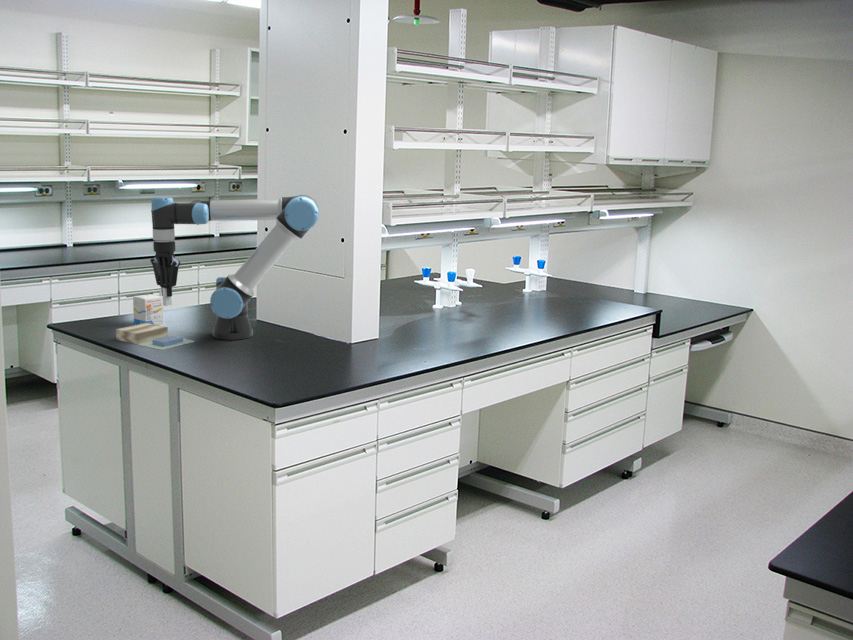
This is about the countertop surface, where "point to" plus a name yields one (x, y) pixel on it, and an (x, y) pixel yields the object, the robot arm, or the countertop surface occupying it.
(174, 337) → the blue flat block
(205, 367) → the countertop surface
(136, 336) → the beige flat block
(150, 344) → the mat
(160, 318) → the ink box
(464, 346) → the countertop surface
